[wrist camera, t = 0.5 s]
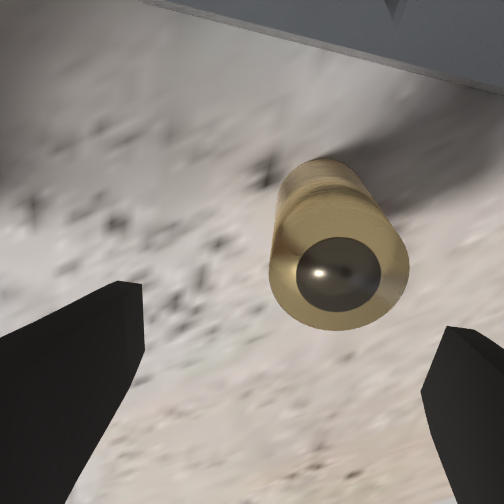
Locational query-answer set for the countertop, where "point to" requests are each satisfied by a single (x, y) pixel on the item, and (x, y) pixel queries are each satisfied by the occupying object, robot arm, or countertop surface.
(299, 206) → the slip bushing
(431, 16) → the plate
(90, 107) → the countertop surface
